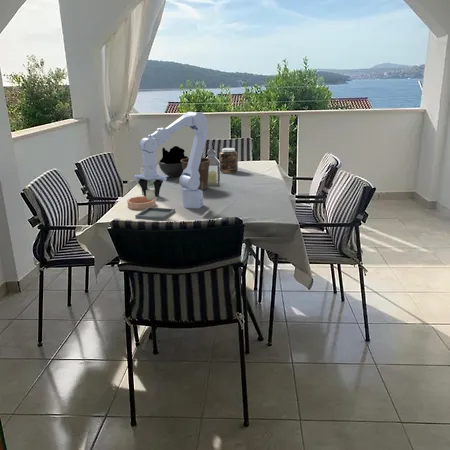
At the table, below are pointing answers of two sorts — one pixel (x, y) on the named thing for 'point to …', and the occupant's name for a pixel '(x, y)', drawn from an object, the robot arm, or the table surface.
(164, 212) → the tray
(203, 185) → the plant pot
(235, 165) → the jar
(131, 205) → the bowl
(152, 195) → the cream cup
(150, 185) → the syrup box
